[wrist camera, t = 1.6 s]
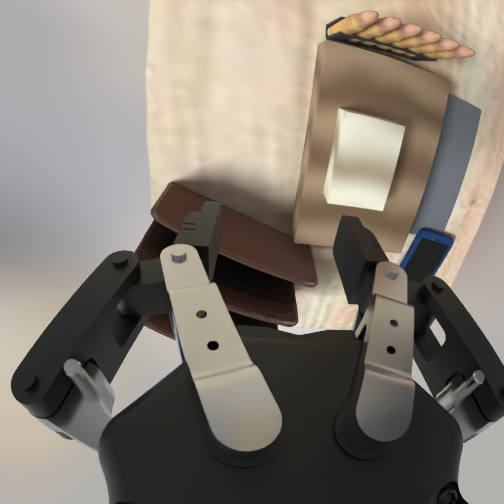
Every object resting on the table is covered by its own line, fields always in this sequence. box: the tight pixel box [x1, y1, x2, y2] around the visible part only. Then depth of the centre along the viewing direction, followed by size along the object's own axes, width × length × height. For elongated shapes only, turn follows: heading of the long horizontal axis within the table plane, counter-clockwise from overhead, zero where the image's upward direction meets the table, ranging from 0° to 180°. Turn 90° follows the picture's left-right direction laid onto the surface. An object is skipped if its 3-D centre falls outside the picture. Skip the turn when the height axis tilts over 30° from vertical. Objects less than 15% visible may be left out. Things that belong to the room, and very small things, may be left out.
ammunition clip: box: [326, 11, 475, 61], centre depth 17 cm, size 11×2×12 cm, turn 89°
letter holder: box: [135, 182, 318, 340], centre depth 32 cm, size 10×20×14 cm, turn 62°
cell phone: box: [399, 229, 454, 284], centre depth 38 cm, size 7×14×1 cm, turn 169°
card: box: [323, 108, 405, 211], centre depth 25 cm, size 9×6×2 cm, turn 175°
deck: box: [291, 40, 450, 253], centre depth 28 cm, size 22×14×4 cm, turn 175°
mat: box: [409, 94, 481, 234], centre depth 29 cm, size 20×9×1 cm, turn 175°
